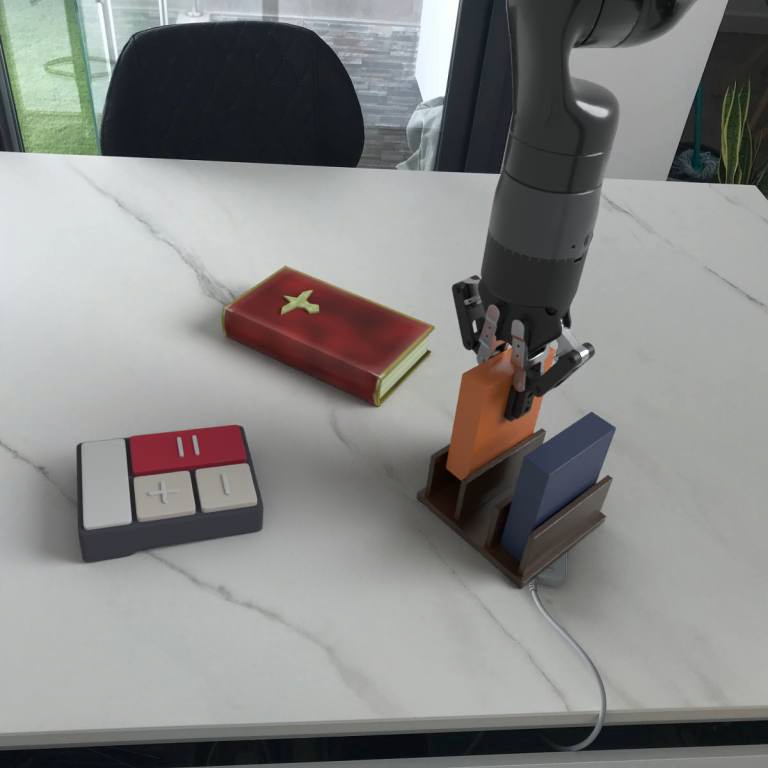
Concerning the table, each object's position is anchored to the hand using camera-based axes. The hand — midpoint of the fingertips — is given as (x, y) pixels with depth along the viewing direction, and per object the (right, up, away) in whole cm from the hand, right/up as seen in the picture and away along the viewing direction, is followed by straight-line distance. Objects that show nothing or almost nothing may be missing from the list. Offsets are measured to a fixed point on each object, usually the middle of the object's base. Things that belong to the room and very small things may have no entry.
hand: (500, 405), depth 68 cm
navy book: (+4, -11, +2) cm, 12 cm away
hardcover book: (-17, +6, +22) cm, 28 cm away
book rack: (+2, -10, +5) cm, 11 cm away
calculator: (-30, -9, +2) cm, 31 cm away
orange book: (0, -5, +4) cm, 6 cm away
